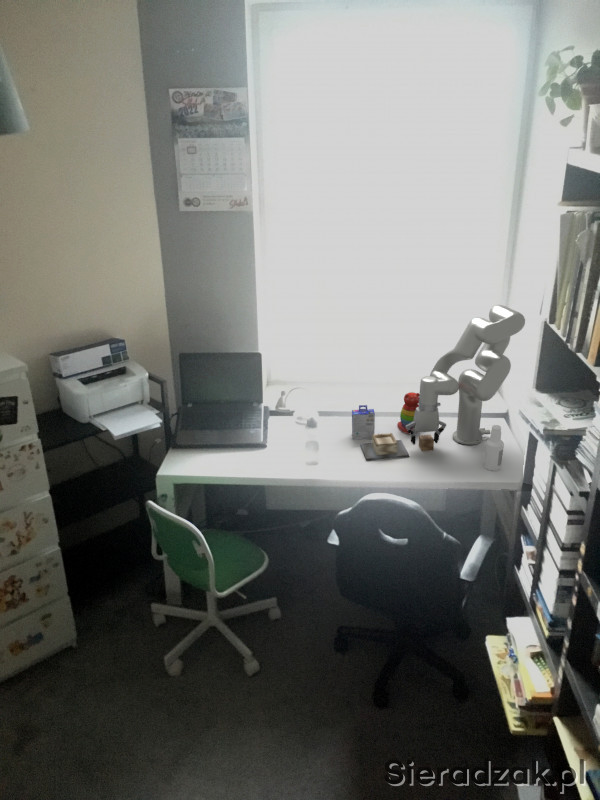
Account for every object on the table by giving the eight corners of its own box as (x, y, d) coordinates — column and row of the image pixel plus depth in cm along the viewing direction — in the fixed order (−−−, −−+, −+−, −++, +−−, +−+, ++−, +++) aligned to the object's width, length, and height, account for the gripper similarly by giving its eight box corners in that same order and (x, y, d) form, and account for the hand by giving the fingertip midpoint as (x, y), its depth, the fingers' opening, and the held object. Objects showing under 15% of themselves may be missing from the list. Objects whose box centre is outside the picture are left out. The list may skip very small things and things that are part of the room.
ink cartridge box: (373, 433, 286) (374, 403, 279) (375, 439, 281) (375, 409, 274) (351, 433, 286) (351, 404, 280) (352, 439, 281) (352, 410, 275)
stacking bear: (420, 423, 293) (421, 387, 285) (424, 433, 283) (426, 397, 276) (396, 424, 293) (397, 388, 285) (400, 434, 283) (401, 398, 276)
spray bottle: (504, 469, 254) (509, 429, 247) (489, 472, 253) (493, 432, 245) (495, 461, 260) (499, 421, 253) (480, 463, 259) (484, 424, 251)
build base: (400, 441, 277) (401, 429, 275) (409, 456, 266) (409, 444, 263) (360, 445, 276) (360, 433, 273) (366, 460, 264) (366, 448, 261)
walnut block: (429, 444, 274) (430, 434, 272) (433, 450, 270) (434, 440, 268) (418, 445, 274) (419, 435, 272) (421, 451, 269) (422, 441, 267)
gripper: (445, 401, 268) (441, 437, 275) (404, 403, 266) (402, 439, 273) (451, 408, 261) (447, 445, 268) (409, 411, 259) (406, 448, 266)
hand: (424, 442), depth 270 cm, fingers open, 9 cm apart
